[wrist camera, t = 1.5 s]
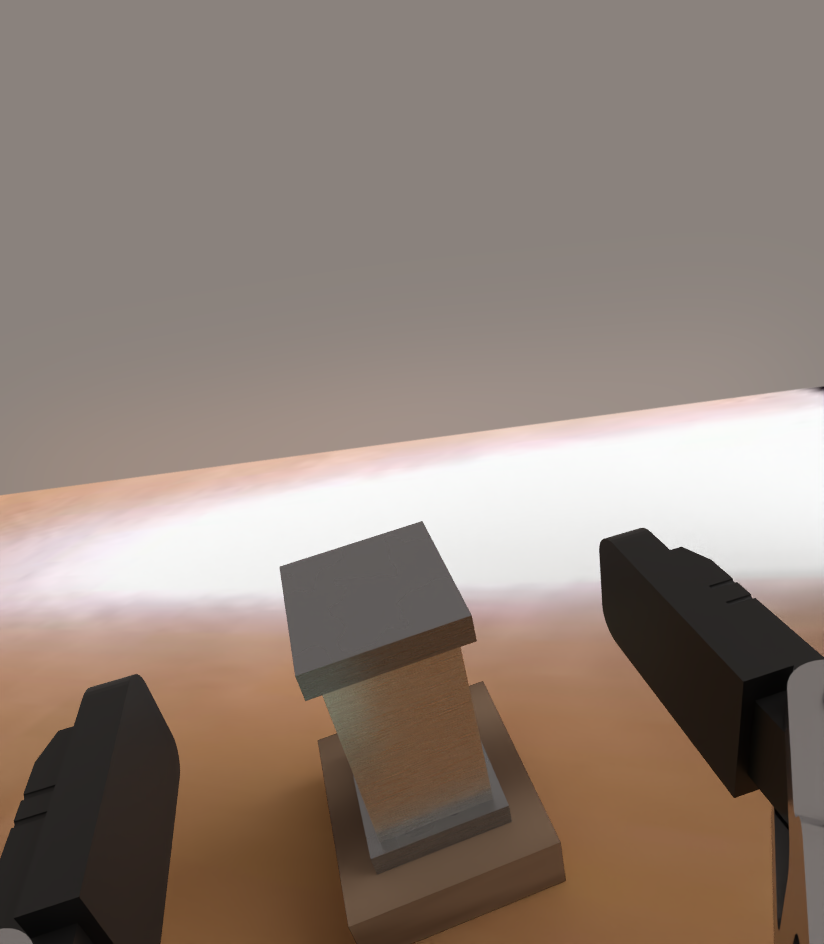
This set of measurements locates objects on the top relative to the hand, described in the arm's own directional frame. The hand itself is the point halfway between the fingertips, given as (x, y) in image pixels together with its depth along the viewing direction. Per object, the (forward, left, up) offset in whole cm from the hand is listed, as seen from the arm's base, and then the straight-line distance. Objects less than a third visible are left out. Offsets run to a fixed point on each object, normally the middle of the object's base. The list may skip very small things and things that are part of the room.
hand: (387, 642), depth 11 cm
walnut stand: (-8, -7, -22) cm, 24 cm away
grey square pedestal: (-8, -7, -19) cm, 22 cm away
